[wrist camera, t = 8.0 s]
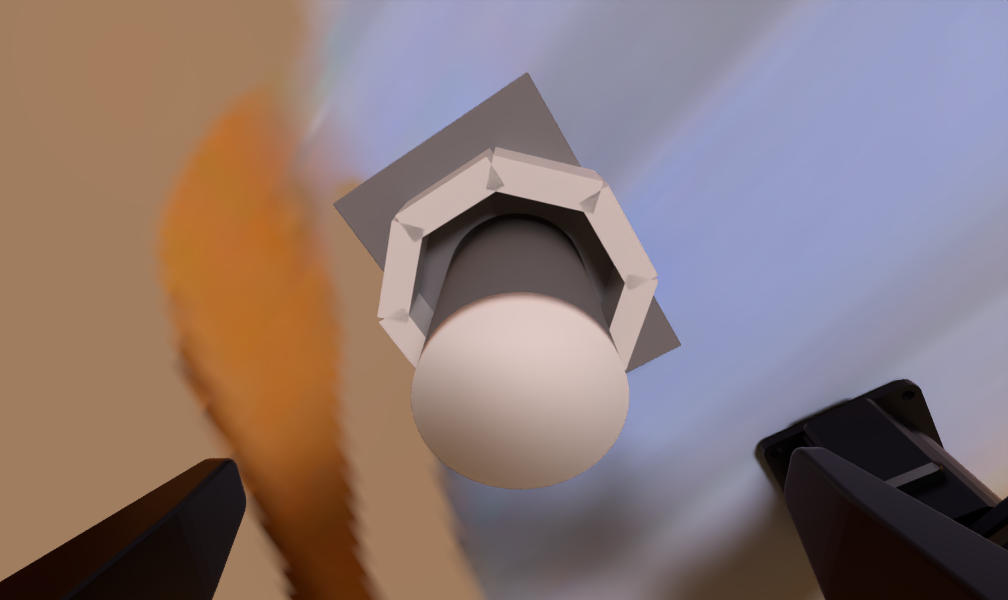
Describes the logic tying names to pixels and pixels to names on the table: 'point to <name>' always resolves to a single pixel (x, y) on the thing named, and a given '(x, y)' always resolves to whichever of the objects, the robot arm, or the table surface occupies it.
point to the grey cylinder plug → (519, 360)
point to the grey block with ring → (493, 192)
